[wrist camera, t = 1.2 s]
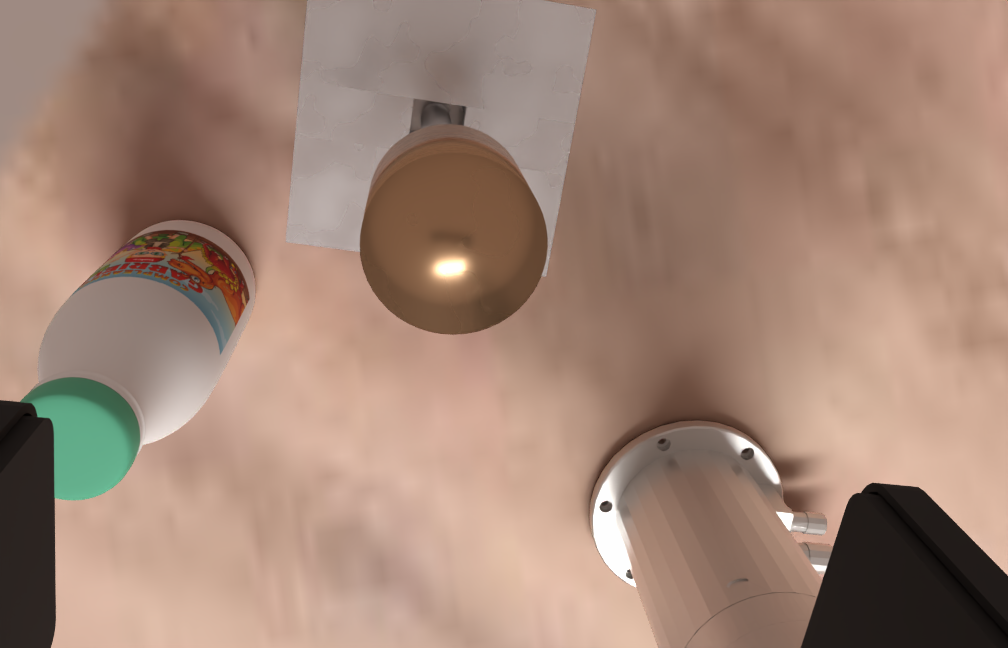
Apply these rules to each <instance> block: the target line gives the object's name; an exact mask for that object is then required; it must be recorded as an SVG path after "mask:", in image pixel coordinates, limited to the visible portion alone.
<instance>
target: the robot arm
mask: <svg viewBox="0 0 1008 648" xmlns="http://www.w3.org/2000/svg"><path fill="white" fill-rule="evenodd" d="M661 439H663V440H662V441H659V440H661ZM743 449H744V450H743ZM603 501H605V502H603ZM589 520H590V526H591V532H592V536H593V539H594V542H595V545H596V548H597V550H598V552H599V554H600V556H601V557H602V559H603V561H604V563H605V564H606V565H607V566H608V567H609V568H610V569H611V571H612V572H613V573H614V574H615V575H616V576H618V577H619V578H620V579H622V580H623V581H624V582H626V583H627V584H630V585H632V586H634V587H636V588H637V590H638V593H639V596H640V599H641V601H642V604H643V607H644V610H645V612H646V615H647V618H648V621H649V623H650V626H651V629H652V632H653V634H654V637H655V640H656V642H657V645H658V648H1008V576H1007V575H1006V574H1005V572H1004V571H1003V570H1002V569H1001V568H1000V567H999V566H998V565H997V564H996V563H995V562H994V561H993V560H992V559H991V558H990V557H989V556H988V555H987V554H986V553H985V552H984V551H983V550H982V549H981V548H980V547H979V546H978V545H977V544H976V543H975V542H974V541H973V540H972V539H971V538H970V537H969V536H968V535H967V534H966V533H965V532H964V531H963V530H962V529H961V528H960V527H959V526H958V525H957V524H956V523H955V522H954V521H953V520H952V519H951V518H950V517H949V516H948V515H947V514H946V513H945V512H944V511H943V510H942V509H941V508H940V507H939V506H938V505H937V504H936V503H935V502H934V501H933V500H932V499H931V498H930V497H929V496H928V495H927V494H926V493H925V492H924V491H923V490H922V489H920V488H919V487H911V486H901V485H890V484H880V483H871V484H869V485H867V486H866V487H865V488H864V489H863V491H862V492H861V493H856V494H854V495H853V496H852V497H851V498H850V499H849V501H848V504H847V506H846V509H845V512H844V515H843V518H842V522H841V525H840V528H839V531H838V534H837V537H836V540H835V543H834V546H833V547H832V546H831V545H829V544H821V543H810V542H802V543H797V542H796V540H795V539H794V537H793V536H792V534H791V533H790V532H791V531H793V532H802V533H803V534H813V535H823V534H825V532H826V529H827V519H826V517H825V515H824V514H822V513H814V512H794V511H792V510H791V508H790V507H787V505H786V504H785V503H784V500H783V487H782V484H781V480H780V477H779V474H778V471H777V470H776V468H775V466H774V464H773V463H772V461H771V459H770V458H769V456H768V455H767V454H766V453H765V451H764V450H763V449H762V448H761V446H760V445H758V444H757V443H756V442H755V441H754V440H753V439H751V438H750V437H749V436H748V435H746V434H744V433H742V432H741V431H739V430H737V429H735V428H733V427H730V426H727V425H724V424H720V423H717V422H709V421H700V420H695V421H680V422H675V423H671V424H667V425H663V426H660V427H657V428H655V429H653V430H650V431H648V432H646V433H643V434H642V435H640V436H639V437H637V438H636V439H634V440H632V441H631V442H629V443H628V444H627V445H625V446H624V447H623V448H622V449H621V450H620V451H619V452H618V453H617V454H616V455H614V456H613V458H612V459H611V460H610V462H609V463H608V464H607V466H606V467H605V468H604V469H603V471H602V473H601V475H600V477H599V479H598V481H597V483H596V485H595V487H594V491H593V494H592V498H591V501H590V515H589ZM819 574H824V577H823V580H822V579H821V577H820V576H819ZM55 622H56V598H55V494H54V428H53V423H52V421H51V419H50V418H43V417H37V412H36V409H35V407H34V405H33V404H32V403H24V402H13V401H3V400H0V648H51V645H52V641H53V637H54V631H55Z"/></svg>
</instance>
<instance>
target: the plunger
mask: <svg viewBox="0 0 1008 648" xmlns="http://www.w3.org/2000/svg"><path fill="white" fill-rule="evenodd" d="M464 109H465V106H460V105H453V104H447V103H440V102H434V101H428V100H421V99H415V98H414V101H413V109H412V117H411V124H410V132H409V134H408V135H406V136H405V137H403V138H402V139H400V140H399V141H398V142H397V143H395V144H394V145H393V146H392V147H391V148H390V149H389V150H388V151H387V153H386V154H385V155H384V156H383V158H382V159H381V161H380V162H379V164H378V166H377V168H376V170H375V172H374V175H373V178H372V181H371V184H370V189H369V193H368V198H367V203H366V207H365V212H364V217H363V222H362V227H361V232H360V256H361V261H362V266H363V270H364V273H365V275H366V278H367V281H368V282H369V284H370V286H371V288H372V290H373V292H374V293H375V294H376V296H377V297H378V298H379V300H380V301H381V302H382V303H383V304H384V305H385V306H386V307H387V309H388V310H390V311H391V312H392V313H393V314H395V315H396V316H397V317H399V318H400V319H402V320H403V321H405V322H407V323H408V324H411V325H413V326H415V327H417V328H420V329H423V330H426V331H429V332H434V333H440V334H466V333H472V332H477V331H480V330H483V329H487V328H489V327H491V326H494V325H496V324H498V323H500V322H501V321H503V320H505V319H506V318H508V317H509V316H511V315H512V314H513V313H514V312H516V311H517V310H518V309H519V308H520V307H521V306H522V305H523V304H524V303H525V302H526V301H527V299H528V298H529V297H530V295H531V294H532V293H533V291H534V289H535V288H536V286H537V284H538V282H539V280H540V278H541V275H542V273H543V270H544V266H545V262H546V258H547V249H548V236H547V229H546V223H545V220H544V216H543V213H542V211H541V208H540V206H539V204H538V202H537V200H536V198H535V196H534V194H533V193H532V191H531V189H530V187H529V185H528V183H527V182H526V180H525V178H524V176H523V174H522V173H521V171H520V169H519V167H518V165H517V164H516V162H515V161H514V159H513V157H512V156H511V155H510V154H509V152H508V151H507V150H506V149H505V148H504V147H503V146H502V145H501V144H500V143H499V142H497V141H496V140H495V139H493V138H492V137H490V136H489V135H487V134H485V133H483V132H481V131H479V130H476V129H473V128H471V127H467V126H462V123H463V116H464Z"/></svg>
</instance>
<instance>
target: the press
mask: <svg viewBox="0 0 1008 648" xmlns="http://www.w3.org/2000/svg"><path fill="white" fill-rule="evenodd" d="M595 15H596V9H590V8H585V7H579V6H573V5H568V4H562V3H556V2H550V1H545V0H307V9H306V20H305V31H304V42H303V53H302V65H301V76H300V87H299V98H298V109H297V120H296V132H295V143H294V154H293V165H292V176H291V187H290V199H289V210H288V221H287V232H286V242H289V243H296V244H304V245H311V246H319V247H326V248H334V249H341V250H349V251H356V252H360V232H361V227H362V222H363V217H364V212H365V207H366V203H367V198H368V193H369V189H370V184H371V181H372V178H373V175H374V172H375V170H376V168H377V166H378V164H379V162H380V161H381V159H382V158H383V156H384V155H385V154H386V153H387V151H388V150H389V149H390V148H391V147H392V146H393V145H394V144H395V143H397V142H398V141H399V140H400V139H402V138H403V137H405V136H406V135H408V134H409V132H410V124H411V117H412V109H413V101H414V98H415V99H421V100H428V101H434V102H440V103H447V104H453V105H460V106H465V109H464V116H463V123H462V126H467V127H471V128H473V129H476V130H479V131H481V132H483V133H485V134H487V135H489V136H490V137H492V138H493V139H495V140H496V141H497V142H499V143H500V144H501V145H502V146H503V147H504V148H505V149H506V150H507V151H508V152H509V154H510V155H511V156H512V157H513V159H514V161H515V162H516V164H517V165H518V167H519V169H520V171H521V173H522V174H523V176H524V178H525V180H526V182H527V183H528V185H529V187H530V189H531V191H532V193H533V194H534V196H535V198H536V200H537V202H538V204H539V206H540V208H541V211H542V213H543V216H544V220H545V223H546V229H547V236H548V249H547V258H546V262H545V266H544V270H543V273H542V275H541V276H544V277H546V275H547V270H548V264H549V259H550V254H551V248H552V243H553V238H554V232H555V227H556V222H557V216H558V211H559V206H560V201H561V195H562V190H563V185H564V179H565V174H566V169H567V163H568V158H569V153H570V147H571V142H572V137H573V132H574V126H575V121H576V116H577V110H578V105H579V100H580V94H581V89H582V84H583V78H584V73H585V68H586V63H587V57H588V52H589V47H590V41H591V36H592V31H593V25H594V20H595Z"/></svg>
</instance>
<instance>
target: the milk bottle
mask: <svg viewBox="0 0 1008 648" xmlns="http://www.w3.org/2000/svg"><path fill="white" fill-rule="evenodd" d="M255 297H256V284H255V278H254V274H253V270H252V268H251V265H250V263H249V261H248V259H247V257H246V256H245V254H244V253H243V251H242V250H241V249H240V248H239V247H238V245H237V244H236V243H235V242H234V241H233V240H231V239H230V238H229V237H228V236H226V235H225V234H224V233H222V232H220V231H219V230H217V229H215V228H213V227H211V226H208V225H206V224H203V223H199V222H194V221H188V220H171V221H165V222H161V223H157V224H154V225H152V226H150V227H148V228H146V229H144V230H142V231H141V232H139V233H138V234H137V235H135V236H134V237H133V238H132V239H130V240H129V241H128V242H127V243H126V244H125V245H124V246H123V247H121V248H120V249H119V250H118V251H117V252H116V253H115V254H114V255H113V256H112V257H111V258H109V259H108V260H107V261H106V262H105V263H104V264H103V265H102V266H101V267H100V268H99V269H98V270H97V271H96V272H94V273H93V274H92V275H91V276H90V277H89V278H88V279H87V280H86V281H85V282H84V283H83V284H82V285H81V286H80V287H79V288H78V289H77V290H76V291H75V292H74V293H73V294H72V295H71V296H70V297H69V299H68V300H67V301H66V302H65V303H64V304H63V305H62V306H61V308H60V309H59V310H58V311H57V313H56V314H55V316H54V318H53V319H52V321H51V323H50V324H49V326H48V328H47V330H46V332H45V334H44V337H43V340H42V343H41V347H40V351H39V357H38V380H39V383H38V384H37V385H35V386H34V388H33V389H32V390H31V391H30V392H29V393H28V394H27V395H26V396H25V397H24V398H23V399H22V400H21V401H20V402H24V403H32V404H33V405H34V407H35V409H36V412H37V417H43V418H50V419H51V421H52V423H53V428H54V494H55V498H57V499H63V500H84V499H89V498H93V497H96V496H98V495H101V494H103V493H105V492H106V491H108V490H110V489H111V488H113V487H114V486H115V485H117V484H118V483H119V482H120V481H121V480H122V478H123V477H124V476H125V475H126V473H127V472H128V470H129V469H130V467H131V466H132V464H133V462H134V460H135V458H136V456H137V455H138V453H139V452H140V450H141V448H142V445H145V444H148V443H152V442H155V441H157V440H160V439H162V438H164V437H166V436H168V435H170V434H172V433H173V432H175V431H176V430H178V429H179V428H180V427H182V426H183V425H184V424H186V423H187V422H188V421H189V420H190V419H191V418H192V417H193V416H194V415H195V414H196V413H197V412H198V411H199V410H200V408H201V407H202V406H203V405H204V404H205V402H206V401H207V399H208V398H209V396H210V394H211V393H212V391H213V389H214V388H215V386H216V384H217V383H218V381H219V379H220V377H221V375H222V373H223V371H224V369H225V367H226V365H227V363H228V361H229V359H230V357H231V355H232V353H233V351H234V349H235V347H236V345H237V343H238V341H239V339H240V337H241V335H242V333H243V331H244V329H245V327H246V324H247V322H248V320H249V318H250V315H251V312H252V310H253V307H254V303H255Z"/></svg>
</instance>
